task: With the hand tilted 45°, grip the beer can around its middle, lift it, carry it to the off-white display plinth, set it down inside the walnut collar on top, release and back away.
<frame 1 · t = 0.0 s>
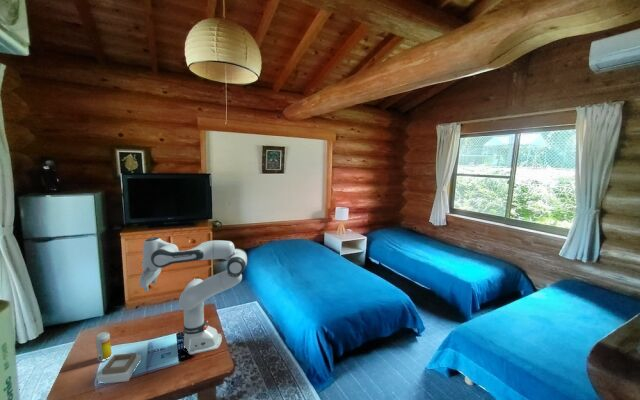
hand: (150, 287, 159), 39 cm above the table, tool pointing down, fingers open, 8 cm apart
beer can: (105, 358, 155), on the table
display plinth: (120, 372, 146), on the table
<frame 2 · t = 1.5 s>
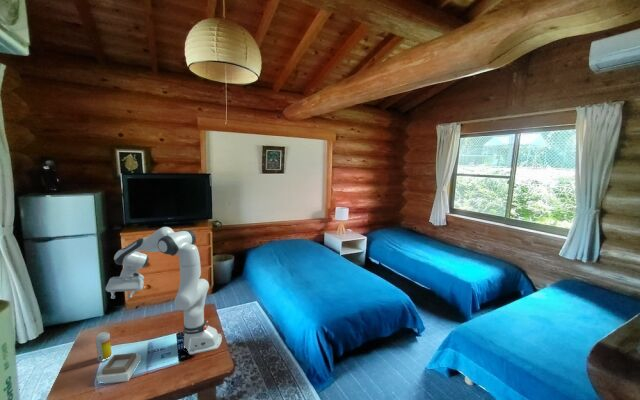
hand: (121, 298, 168), 28 cm above the table, tool tilted 45°, fingers open, 8 cm apart
nothing on the table moved.
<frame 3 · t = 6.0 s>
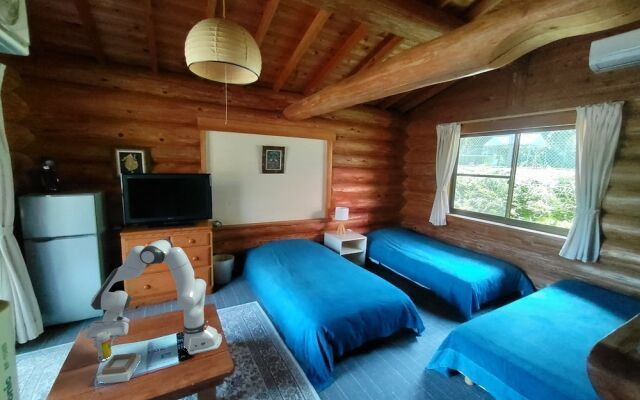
hand: (103, 345, 153), 8 cm above the table, tool tilted 45°, fingers closed on beer can, 6 cm apart
beer can: (105, 358, 155), on the table, touching gripper
when the fingers open (14 cm above the table, at t = 12.7 s): beer can stays where it is, resting on display plinth.
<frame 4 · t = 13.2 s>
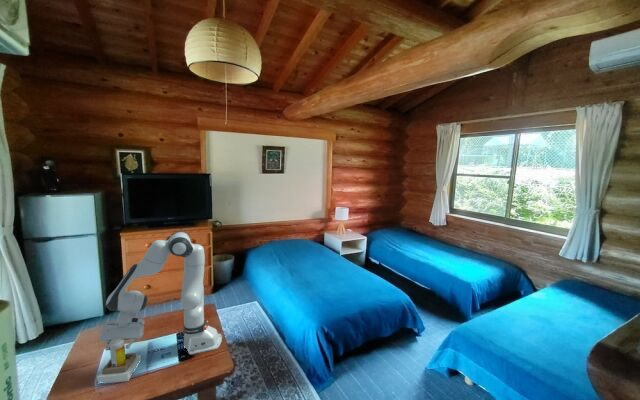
hand: (117, 349, 143), 14 cm above the table, tool tilted 45°, fingers open, 8 cm apart
beer can: (119, 366, 145), point 4 cm above the table, touching display plinth
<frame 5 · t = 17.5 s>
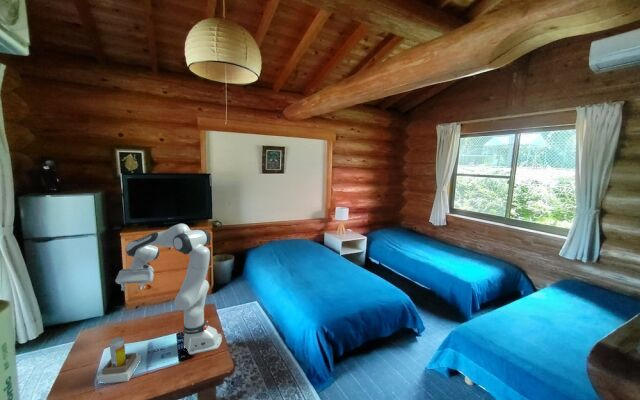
hand: (131, 289, 166), 33 cm above the table, tool tilted 45°, fingers open, 8 cm apart
nothing on the table moved.
at the end: beer can 0.4 cm off-centre on the display plinth, point 3.8 cm above the display plinth's base; beer can tilted 0°; the gripper is holding nothing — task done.
